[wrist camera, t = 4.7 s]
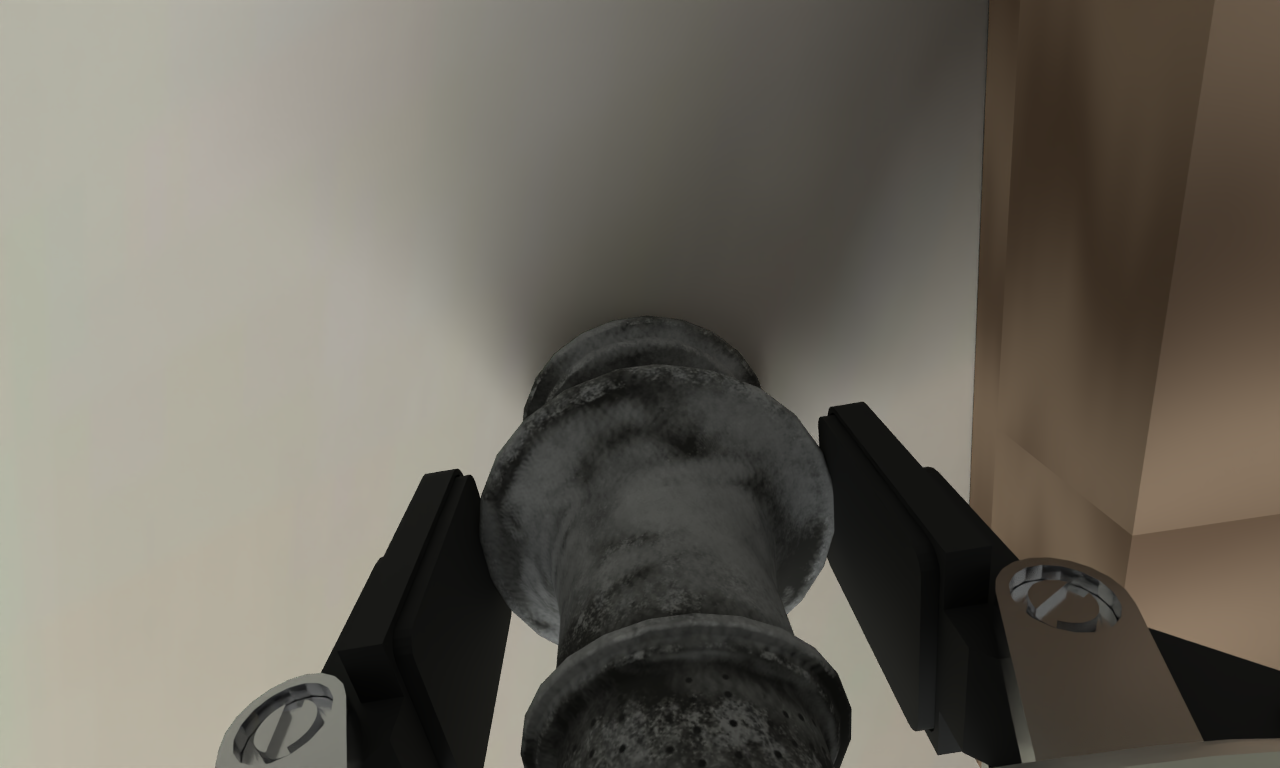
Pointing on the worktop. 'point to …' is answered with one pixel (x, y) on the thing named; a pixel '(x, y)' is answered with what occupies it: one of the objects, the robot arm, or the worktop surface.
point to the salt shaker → (665, 558)
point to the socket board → (1136, 305)
